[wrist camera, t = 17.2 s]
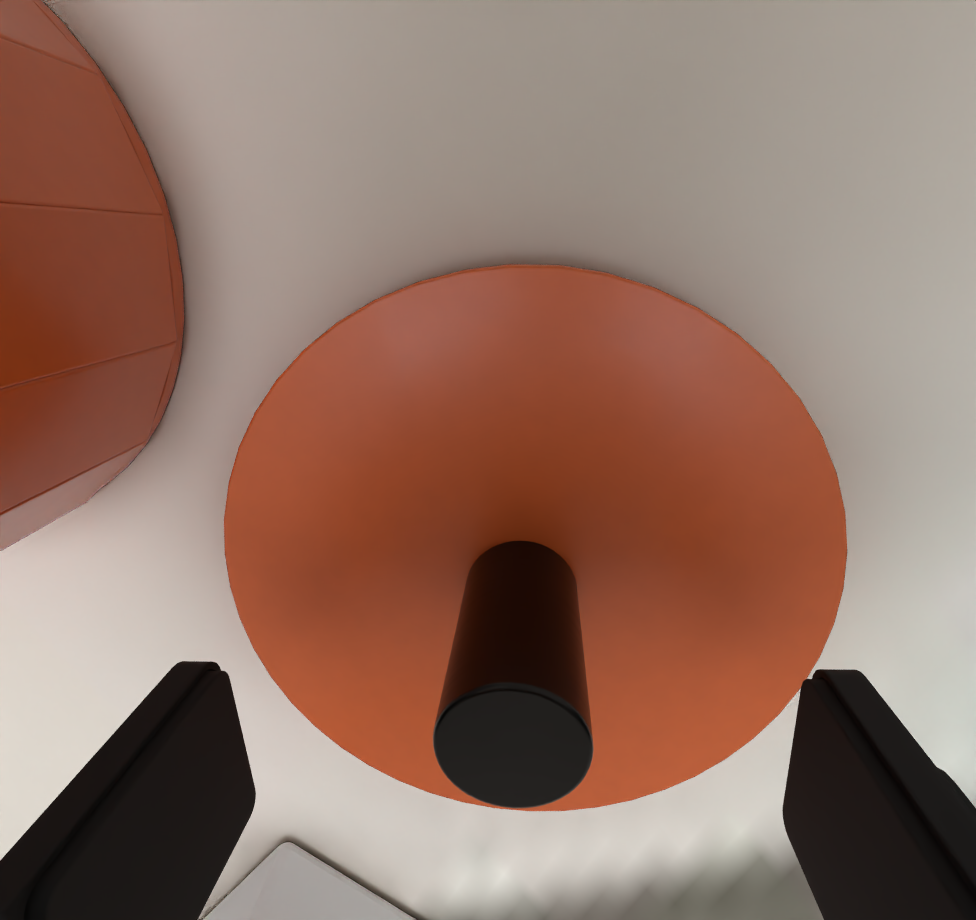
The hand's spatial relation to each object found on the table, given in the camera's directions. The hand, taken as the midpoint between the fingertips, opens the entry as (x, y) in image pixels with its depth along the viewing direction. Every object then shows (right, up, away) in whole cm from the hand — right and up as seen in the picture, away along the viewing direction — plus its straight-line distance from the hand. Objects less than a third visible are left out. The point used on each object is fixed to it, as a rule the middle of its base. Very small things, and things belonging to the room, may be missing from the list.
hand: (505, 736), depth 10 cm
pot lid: (0, +2, +4) cm, 4 cm away
